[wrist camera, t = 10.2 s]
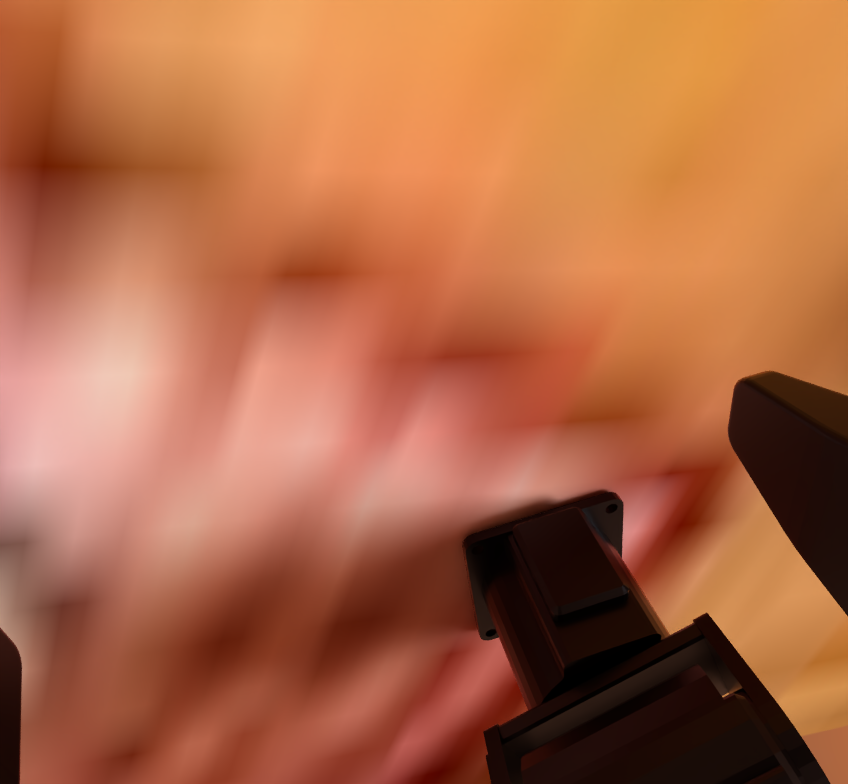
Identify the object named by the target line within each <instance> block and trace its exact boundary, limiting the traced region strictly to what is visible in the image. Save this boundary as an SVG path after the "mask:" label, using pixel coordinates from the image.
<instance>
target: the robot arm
mask: <svg viewBox="0 0 848 784" xmlns="http://www.w3.org/2000/svg"><path fill="white" fill-rule="evenodd" d="M728 436H729V440H730V443H731V445H732V448H733V449H734V451H735V453H736V454H737V456H738V458H739V459H740V461H741V462H742V464H743V466H744V467H745V469H746V470H747V472H748V474H749V475H750V477H751V479H752V480H753V482H754V483H755V485H756V487H757V488H758V490H759V491H760V493H761V495H762V496H763V498H764V499H765V501H766V503H767V504H768V506H769V508H770V509H771V511H772V512H773V514H774V516H775V517H776V519H777V520H778V522H779V524H780V525H781V527H782V528H783V530H784V532H785V533H786V535H787V536H788V538H789V539H790V541H791V542H792V544H793V545H794V547H795V548H796V550H797V551H798V552H799V554H800V555H801V556H802V558H803V559H804V560H805V562H806V563H807V564H808V566H809V567H810V568H811V569H812V571H813V572H814V573H815V575H816V576H817V577H818V578H819V580H820V581H821V582H822V584H823V585H824V586H825V587H826V589H827V590H828V591H829V593H830V594H831V595H832V596H833V598H834V599H835V600H836V602H837V603H838V604H839V605H840V607H841V608H842V609H843V611H844V612H845V613H846V614H847V616H848V396H847V395H844V394H841V393H838V392H835V391H832V390H829V389H826V388H823V387H820V386H817V385H814V384H811V383H808V382H805V381H802V380H799V379H796V378H793V377H790V376H787V375H784V374H781V373H778V372H774V371H765V372H761V373H758V374H754V375H751V376H748V377H744V378H742V379H740V380H738V382H737V383H736V385H735V387H734V391H733V398H732V405H731V411H730V418H729V424H728ZM622 534H623V502H622V500H621V499H620V497H619V496H618V495H617V494H616V493H614V492H609V493H605V494H602V495H598V496H595V497H592V498H589V499H585V500H582V501H579V502H576V503H572V504H569V505H566V506H563V507H559V508H556V509H553V510H550V511H546V512H543V513H540V514H537V515H533V516H530V517H527V518H524V519H520V520H517V521H514V522H511V523H507V524H504V525H501V526H498V527H494V528H491V529H488V530H485V531H481V532H478V533H475V534H472V535H470V536H468V537H467V538H466V539H465V540H464V542H463V546H462V547H463V552H464V558H465V563H466V569H467V574H468V580H469V586H470V591H471V597H472V602H473V608H474V614H475V619H476V625H477V629H478V632H479V635H480V637H481V639H483V640H492V639H495V638H498V637H499V638H500V641H501V643H502V646H503V648H504V651H505V653H506V656H507V658H508V661H509V663H510V666H511V668H512V671H513V673H514V676H515V678H516V681H517V683H518V686H519V688H520V691H521V693H522V696H523V698H524V701H525V703H526V706H527V708H528V711H526V712H525V713H523V714H521V715H519V716H517V717H515V718H513V719H511V720H509V721H508V722H506V723H504V724H502V725H500V726H499V725H498V724H496V725H494V726H492V727H490V728H488V729H486V730H485V731H484V737H485V742H486V746H487V751H488V754H487V755H486V760H487V765H488V770H489V774H490V779H491V784H830V782H829V781H828V779H827V777H826V775H825V773H824V772H823V770H822V769H821V767H820V765H819V764H818V762H817V760H816V759H815V757H814V756H813V754H812V753H811V751H810V749H809V748H808V747H807V745H806V743H805V742H804V740H803V739H802V737H801V736H800V734H799V733H798V731H797V730H796V728H795V727H794V726H793V724H792V723H791V721H790V720H789V718H788V717H787V716H786V714H785V713H784V711H783V710H782V709H781V707H780V706H779V705H778V703H777V702H776V701H775V699H774V698H773V697H772V696H771V694H770V693H769V692H768V690H767V689H766V688H765V687H764V685H763V684H762V683H761V681H760V680H759V679H758V678H757V676H756V675H755V674H754V672H753V671H752V670H751V669H750V667H749V666H748V665H747V663H746V662H745V661H744V659H743V658H742V657H741V656H740V654H739V653H738V652H737V650H736V649H735V648H734V647H733V645H732V644H731V643H730V641H729V640H728V639H727V638H726V636H725V635H724V634H723V632H722V631H721V630H720V629H719V627H718V626H717V625H716V623H715V622H714V621H713V620H712V618H711V617H710V616H709V614H708V613H705V614H703V615H701V616H699V617H698V618H696V619H694V620H693V622H694V623H692V624H691V625H689V626H687V627H685V628H683V629H681V630H679V631H677V632H675V633H674V634H672V635H670V634H669V633H668V631H667V629H666V628H665V626H664V625H663V623H662V622H661V620H660V618H659V617H658V615H657V614H656V612H655V610H654V609H653V607H652V606H651V604H650V603H649V601H648V599H647V598H646V596H645V595H644V593H643V591H642V590H641V588H640V587H639V585H638V583H637V582H636V580H635V579H634V577H633V576H632V574H631V572H630V571H629V569H628V568H627V566H626V564H625V563H624V561H623V560H622ZM21 684H22V663H21V657H20V654H19V651H18V649H17V647H16V646H15V644H14V643H13V642H12V640H11V639H10V638H9V637H8V636H7V635H6V634H5V633H4V631H3V630H2V629H1V628H0V784H20V740H21ZM726 693H729V695H727V696H725V697H722V695H724V694H726Z"/></svg>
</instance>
